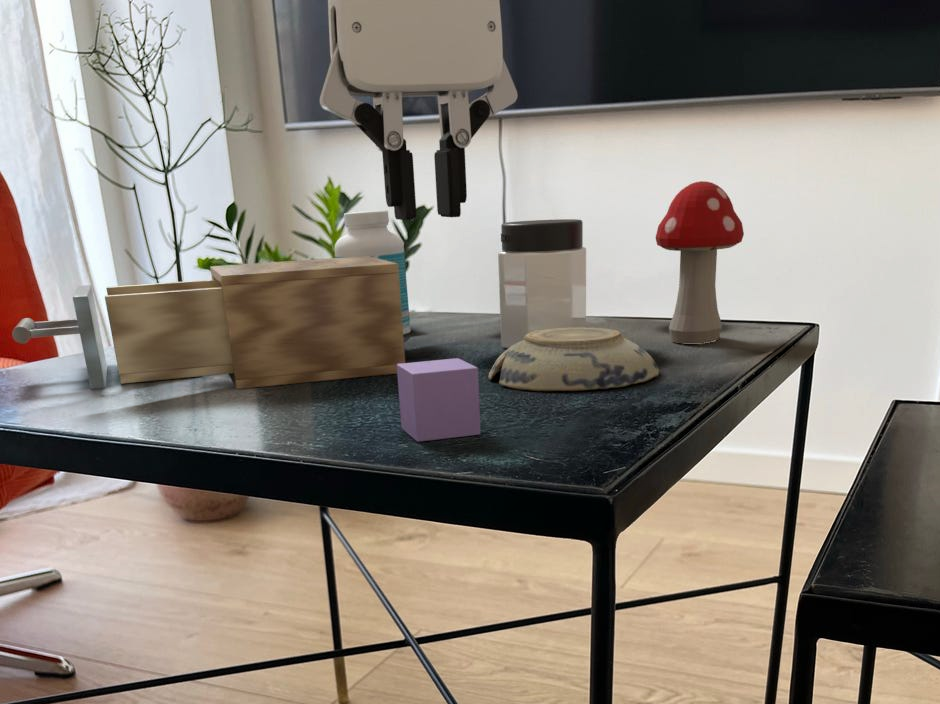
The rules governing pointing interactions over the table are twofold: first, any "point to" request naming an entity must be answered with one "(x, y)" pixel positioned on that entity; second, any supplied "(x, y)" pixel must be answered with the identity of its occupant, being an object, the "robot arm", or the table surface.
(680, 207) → the decorative mushroom
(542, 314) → the jar
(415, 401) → the cube
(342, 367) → the cabinet
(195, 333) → the drawer
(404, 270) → the pill bottle
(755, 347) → the table surface
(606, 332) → the decorative bowl
